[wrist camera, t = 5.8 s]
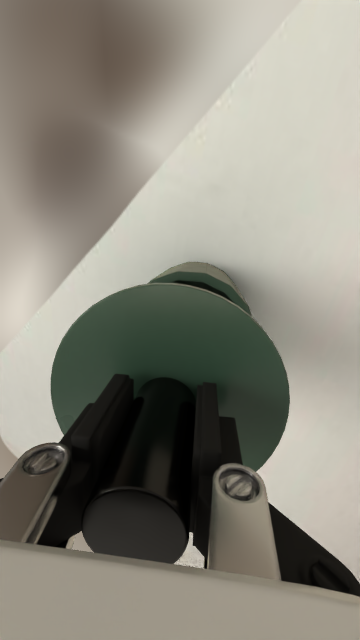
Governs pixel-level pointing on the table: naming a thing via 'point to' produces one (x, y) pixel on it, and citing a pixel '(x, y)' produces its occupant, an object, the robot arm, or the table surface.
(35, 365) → the table surface
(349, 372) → the table surface
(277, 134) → the table surface
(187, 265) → the trash can
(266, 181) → the table surface
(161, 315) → the trash can lid
